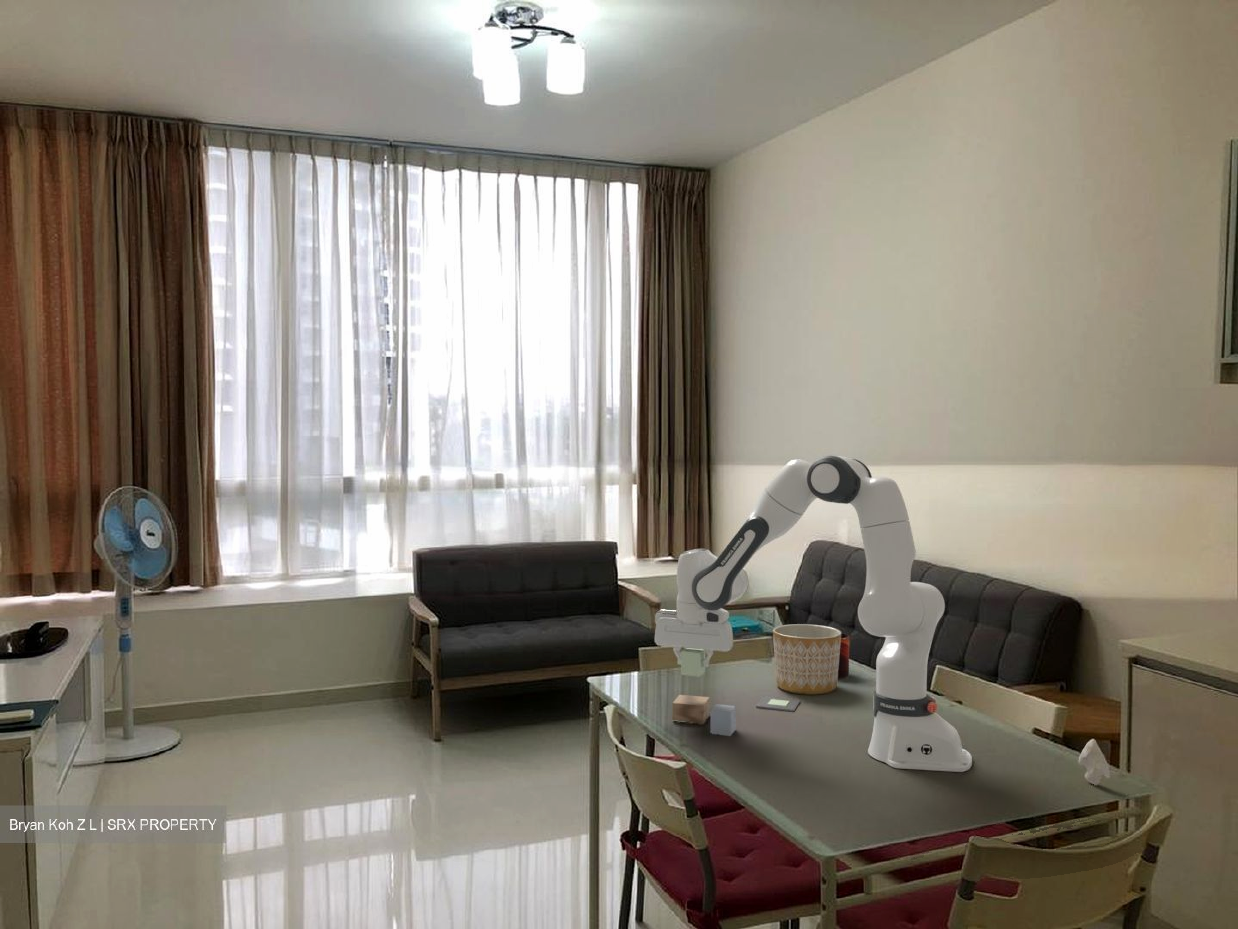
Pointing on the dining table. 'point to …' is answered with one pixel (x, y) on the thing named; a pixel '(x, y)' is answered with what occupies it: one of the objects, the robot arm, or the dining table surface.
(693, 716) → the walnut base
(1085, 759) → the arrowhead
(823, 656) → the planter
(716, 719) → the slate block
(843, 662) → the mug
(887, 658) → the robot arm
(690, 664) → the sage block
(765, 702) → the card
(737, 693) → the dining table surface
